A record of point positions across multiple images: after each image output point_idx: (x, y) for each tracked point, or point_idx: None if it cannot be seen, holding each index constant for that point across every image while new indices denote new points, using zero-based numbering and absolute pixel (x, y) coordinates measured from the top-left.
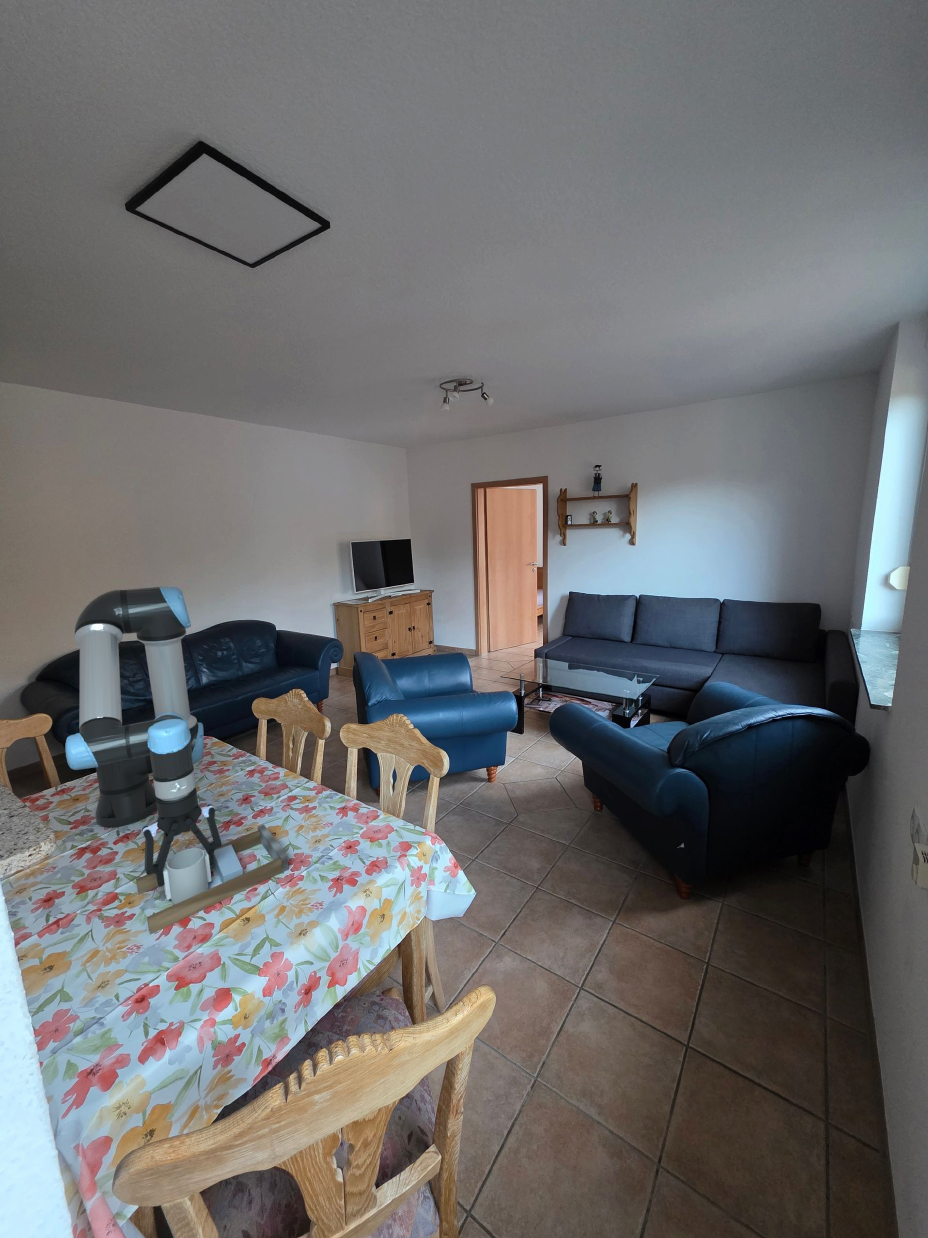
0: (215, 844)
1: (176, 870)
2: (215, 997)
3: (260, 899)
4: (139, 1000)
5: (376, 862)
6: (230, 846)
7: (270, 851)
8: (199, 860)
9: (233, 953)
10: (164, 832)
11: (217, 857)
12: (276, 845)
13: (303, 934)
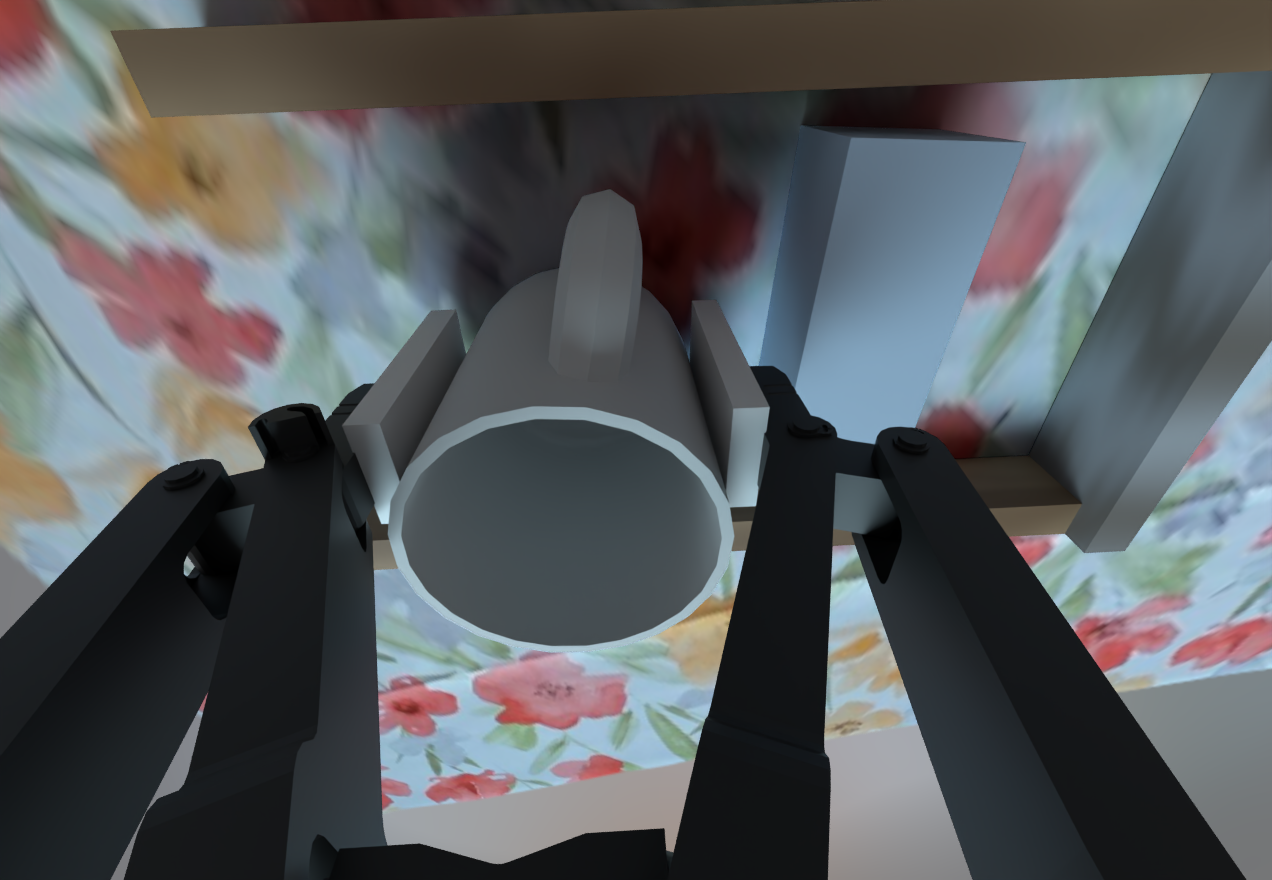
0: (859, 550)
1: (483, 634)
2: (587, 765)
3: (836, 573)
4: (404, 709)
5: (1259, 630)
6: (999, 178)
7: (1129, 337)
8: (665, 623)
9: (660, 702)
10: (136, 876)
11: (832, 280)
12: (1183, 440)
13: (842, 731)
